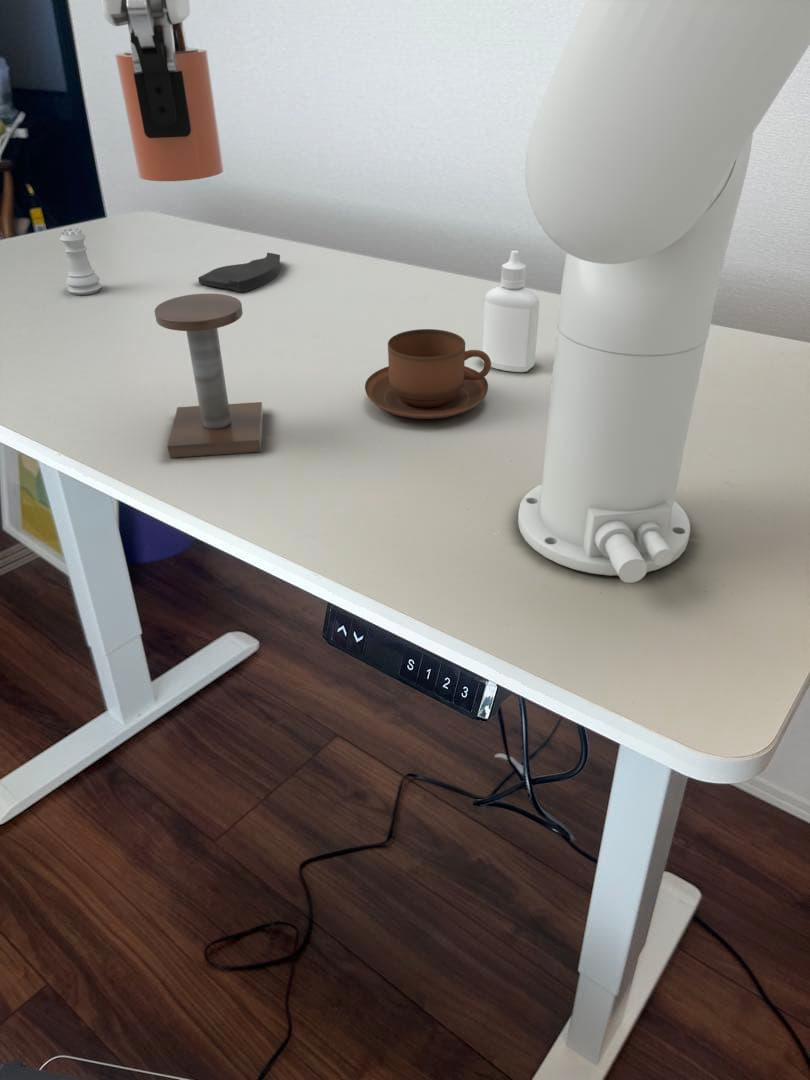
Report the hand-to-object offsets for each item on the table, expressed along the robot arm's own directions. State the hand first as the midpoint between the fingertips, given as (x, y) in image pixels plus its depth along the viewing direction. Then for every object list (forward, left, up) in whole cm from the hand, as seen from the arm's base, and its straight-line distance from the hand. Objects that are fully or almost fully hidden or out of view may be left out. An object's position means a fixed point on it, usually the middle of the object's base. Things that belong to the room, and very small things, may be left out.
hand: (174, 127), depth 61 cm
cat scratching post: (0, 0, -26) cm, 26 cm away
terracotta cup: (0, 0, -3) cm, 3 cm away
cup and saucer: (+4, -20, -26) cm, 33 cm away
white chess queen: (+46, +21, -26) cm, 57 cm away
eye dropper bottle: (+12, -30, -26) cm, 41 cm away
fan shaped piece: (+48, -1, -26) cm, 55 cm away
